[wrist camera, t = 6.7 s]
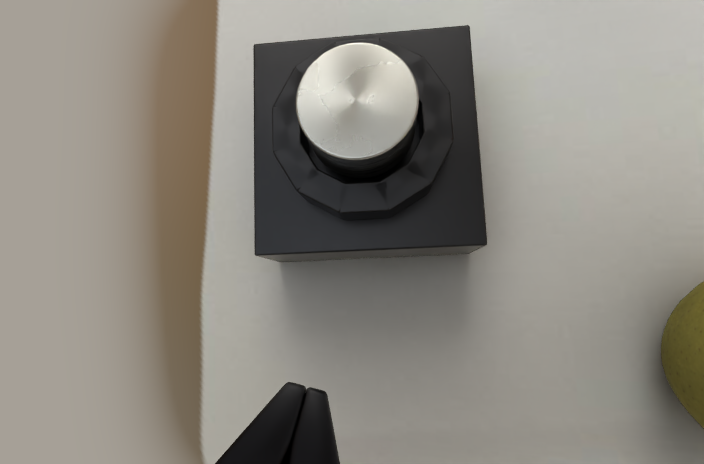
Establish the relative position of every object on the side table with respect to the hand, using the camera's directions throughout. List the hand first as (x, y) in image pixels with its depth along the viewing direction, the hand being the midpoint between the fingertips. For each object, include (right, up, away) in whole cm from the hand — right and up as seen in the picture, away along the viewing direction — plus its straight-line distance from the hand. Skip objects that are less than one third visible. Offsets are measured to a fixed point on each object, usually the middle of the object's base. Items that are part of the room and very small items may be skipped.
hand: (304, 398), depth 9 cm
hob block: (+2, +7, +14) cm, 16 cm away
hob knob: (+1, +8, +9) cm, 12 cm away
